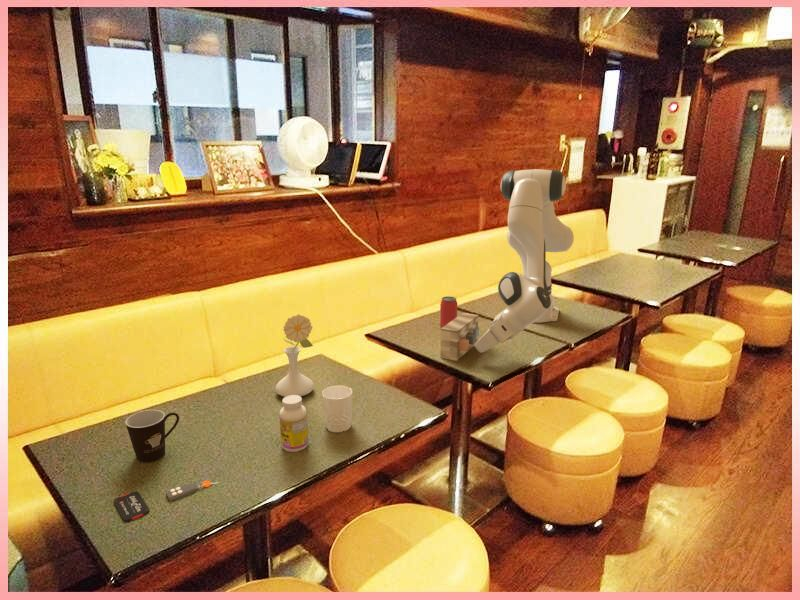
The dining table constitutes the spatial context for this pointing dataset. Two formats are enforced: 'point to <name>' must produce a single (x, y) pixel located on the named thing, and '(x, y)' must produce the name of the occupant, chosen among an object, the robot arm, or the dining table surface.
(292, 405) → the supplement bottle
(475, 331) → the slate-blue button
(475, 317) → the block
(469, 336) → the charcoal button
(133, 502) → the black flat block
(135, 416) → the coffee mug
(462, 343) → the terracotta button
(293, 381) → the flower in vase
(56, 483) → the dining table surface
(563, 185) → the robot arm
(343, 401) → the white cup
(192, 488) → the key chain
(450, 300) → the beer can
